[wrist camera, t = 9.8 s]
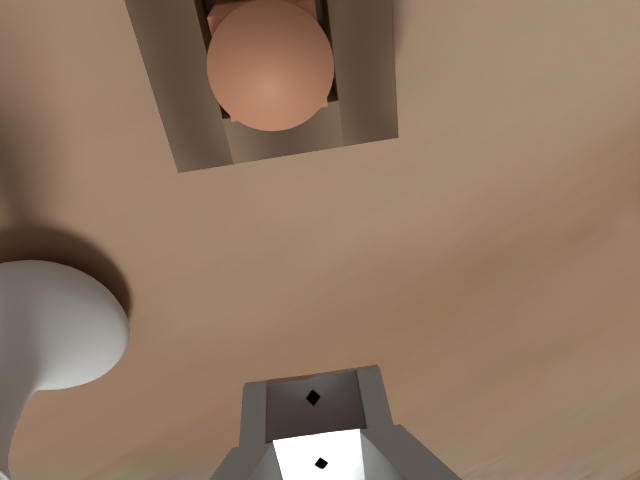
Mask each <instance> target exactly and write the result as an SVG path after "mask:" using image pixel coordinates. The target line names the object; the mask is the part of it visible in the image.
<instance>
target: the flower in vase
mask: <svg viewBox="0 0 640 480" xmlns="http://www.w3.org/2000/svg"><path fill="white" fill-rule="evenodd" d="M129 336H130V329H129V323H128V320H127V317H126V314H125V312H124V310H123V308H122V306H121V305H120V304H119V302H118V301H117V299H116V298H115V296H114V295H113V294H112V293H111V292H110V291H109V290H108V289H107V288H106V287H105V286H104V285H102V284H101V283H100V282H99V281H97V280H96V279H94V278H93V277H91V276H90V275H88V274H86V273H84V272H82V271H80V270H77V269H75V268H73V267H70V266H66V265H63V264H60V263H55V262H50V261H42V260H22V261H11V262H6V263H1V264H0V480H12V479H11V476H10V474H9V469H8V455H9V450H10V446H11V441H12V438H13V435H14V432H15V429H16V426H17V423H18V421H19V419H20V417H21V414H22V412H23V410H24V408H25V406H26V404H27V402H28V401H29V399H30V398H31V396H32V395H33V394H34V392H35V391H37V390H55V389H64V388H69V387H74V386H77V385H81V384H84V383H88V382H90V381H93V380H95V379H97V378H99V377H100V376H102V375H104V374H105V373H106V372H107V371H109V370H110V369H111V368H112V367H113V366H114V365H115V364H116V363H117V362H118V361H119V360H120V359H121V357H122V356H123V354H124V353H125V351H126V348H127V346H128V342H129Z"/></svg>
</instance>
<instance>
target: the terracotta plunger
mask: <svg viewBox="0 0 640 480" xmlns="http://www.w3.org/2000/svg"><path fill="white" fill-rule="evenodd" d="M207 19H208V23H209V27H210V32H211V36H212V39H211V42H210V45H209V49H208V54H207V74H208V79H209V83H210V86H211V89H212V91H213V93H214V95H215V97H216V99H217V100H218V102H219V104H220V105H221V106H222V107H223V108H224V110H225V111H226V112H227V113H228V114H229V115H230V117H231V122H234V121H239V122H241V123H242V124H244V125H247V126H249V127H251V128H255V129H258V130H264V131H280V130H286V129H290V128H293V127H295V126H298V125H300V124H302V123H304V122H305V121H307V120H308V119H309V118H311V117H312V116H313V115H314V114H315V113H316V112H317V111H318V110H319V109H320V108H322V107H328V103H327V96H328V94H329V92H330V89H331V86H332V82H333V77H334V59H333V53H332V49H331V46H330V43H329V41H328V39H327V37H326V35H325V33H324V31H323V30H322V28H321V26H320V25H319V23H318V22H317V14H316V6H315V0H217V1H216V3H215V5H214V7H213V8H212V10H211V12H210V13H209V15H208V17H207Z"/></svg>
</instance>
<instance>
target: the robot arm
mask: <svg viewBox="0 0 640 480" xmlns="http://www.w3.org/2000/svg"><path fill="white" fill-rule="evenodd" d="M209 480H462V479H461V478H459V477H458V476H457V475H456V474H455V473H454V472H453V471H452V470H451V469H449V468H448V467H447V466H446V465H445V464H444V463H443V462H442V461H441V460H439V459H438V458H437V457H436V456H435V455H434V454H433V453H432V452H431V451H429V450H428V449H427V448H426V447H425V446H424V445H423V444H422V443H421V442H419V441H418V440H417V439H416V438H415V437H414V436H413V435H412V434H411V433H409V432H408V431H407V430H406V429H405V428H404V427H403V426H402V425H401V424H399V425H393V421H392V417H391V412H390V408H389V404H388V400H387V396H386V392H385V388H384V384H383V379H382V375H381V371H380V368H379V366H378V365H371V366H364V367H357V368H356V369H355V368H350V369H343V370H336V371H330V372H323V373H317V374H312V375H305V376H297V377H288V378H279V379H270V380H265V381H256V382H248V383H245V385H244V388H243V397H242V411H241V425H240V439H239V447H235V448H232V449H231V450H230V452H229V453H228V454H227V456H226V457H225V459H224V460H223V461H222V463H221V464H220V465H219V467H218V468H217V469H216V471H215V472H214V473H213V475H212V476H211V478H210V479H209Z"/></svg>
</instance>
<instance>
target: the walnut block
mask: <svg viewBox="0 0 640 480" xmlns="http://www.w3.org/2000/svg"><path fill="white" fill-rule="evenodd" d="M216 1H217V0H125V3H126V6H127V10H128V13H129V16H130V19H131V22H132V26H133V29H134V32H135V35H136V39H137V42H138V45H139V48H140V51H141V55H142V58H143V61H144V64H145V67H146V71H147V74H148V77H149V80H150V84H151V87H152V90H153V93H154V96H155V100H156V103H157V106H158V109H159V112H160V116H161V119H162V122H163V125H164V129H165V132H166V135H167V138H168V141H169V145H170V148H171V151H172V154H173V158H174V161H175V164H176V167H177V170H178V173H181V172H188V171H194V170H200V169H206V168H212V167H219V166H225V165H231V164H237V163H243V162H250V161H256V160H262V159H268V158H274V157H281V156H287V155H293V154H299V153H305V152H312V151H318V150H324V149H330V148H337V147H343V146H349V145H355V144H361V143H368V142H374V141H380V140H386V139H392V138H398V118H397V98H396V77H395V56H394V35H393V14H392V0H315V6H316V14H317V22H318V23H319V25H320V26H321V28H322V30H323V31H324V33H325V35H326V37H327V39H328V41H329V43H330V46H331V49H332V53H333V59H334V77H333V82H332V86H331V89H330V92H329V94H328V96H327V103H328V107H322V108H320V109H319V110H318V111H317V112H316V113H315V114H314V115H313V116H312V117H311V118H309V119H308V120H307V121H305V122H304V123H302V124H300V125H298V126H295V127H293V128H290V129H286V130H280V131H264V130H258V129H255V128H251V127H249V126H247V125H244V124H242V123H241V122H239V121H234V122H231V117H230V115H229V114H228V113H227V112H226V111H225V110H224V108H223V107H222V106H221V105H220V104H219V102H218V100H217V99H216V97H215V95H214V93H213V91H212V89H211V86H210V83H209V79H208V74H207V54H208V49H209V45H210V42H211V39H212V36H211V32H210V27H209V23H208V19H207V17H208V15H209V13H210V12H211V10H212V8H213V7H214V5H215V3H216Z"/></svg>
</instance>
